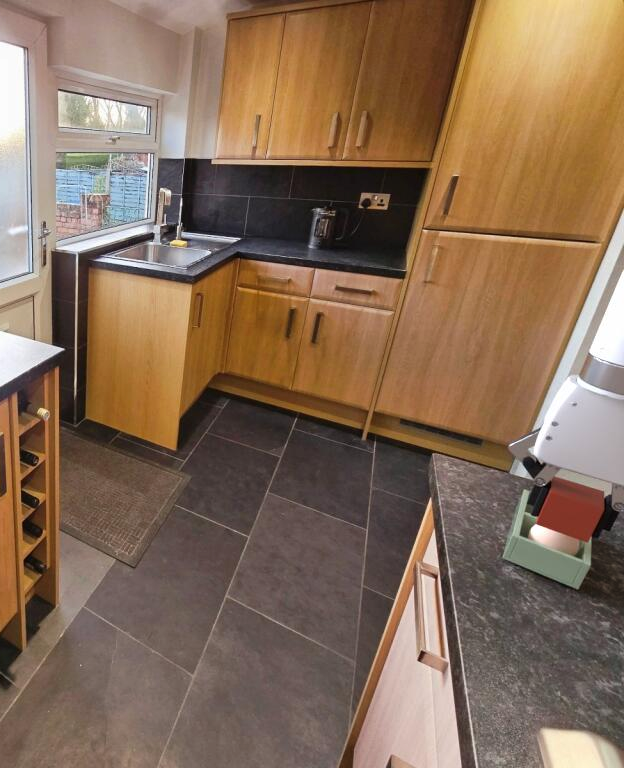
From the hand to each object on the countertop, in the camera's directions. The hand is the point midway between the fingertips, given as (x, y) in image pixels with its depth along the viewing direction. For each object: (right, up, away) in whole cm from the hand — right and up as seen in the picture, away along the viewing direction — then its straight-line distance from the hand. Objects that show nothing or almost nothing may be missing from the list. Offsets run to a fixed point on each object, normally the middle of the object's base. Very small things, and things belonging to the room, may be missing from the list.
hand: (564, 519), depth 58 cm
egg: (+6, -8, +9) cm, 14 cm away
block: (0, -1, 0) cm, 1 cm away
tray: (+8, -7, +12) cm, 16 cm away
